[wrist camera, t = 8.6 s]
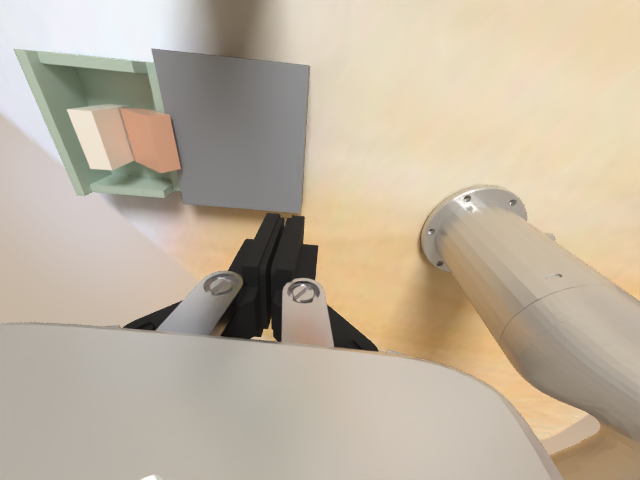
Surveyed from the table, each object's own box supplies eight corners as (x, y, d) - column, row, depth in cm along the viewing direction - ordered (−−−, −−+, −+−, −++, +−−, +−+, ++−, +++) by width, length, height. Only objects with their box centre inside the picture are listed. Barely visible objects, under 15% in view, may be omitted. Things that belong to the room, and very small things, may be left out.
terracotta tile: (169, 114, 24) (146, 115, 22) (180, 168, 26) (160, 173, 25) (142, 107, 26) (119, 108, 25) (155, 158, 29) (135, 161, 27)
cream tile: (91, 111, 22) (66, 109, 22) (112, 170, 24) (90, 168, 24) (128, 105, 26) (108, 103, 26) (143, 156, 29) (124, 155, 29)
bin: (166, 63, 25) (134, 61, 20) (188, 185, 31) (168, 202, 27) (67, 53, 24) (13, 48, 20) (110, 178, 31) (77, 195, 26)
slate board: (309, 66, 25) (308, 65, 22) (302, 202, 32) (300, 213, 30) (169, 51, 24) (151, 48, 22) (194, 193, 32) (183, 203, 29)
